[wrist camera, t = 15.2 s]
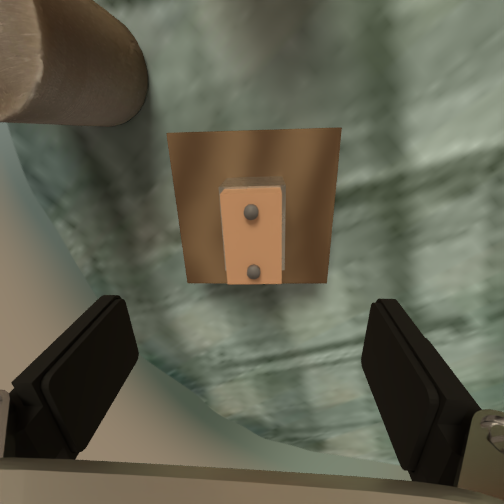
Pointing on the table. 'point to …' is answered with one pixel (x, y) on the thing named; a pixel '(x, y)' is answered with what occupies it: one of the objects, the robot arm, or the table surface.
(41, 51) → the pillar candle
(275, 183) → the housing base
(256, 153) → the walnut stand
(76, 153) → the table surface
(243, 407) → the table surface
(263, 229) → the cover
